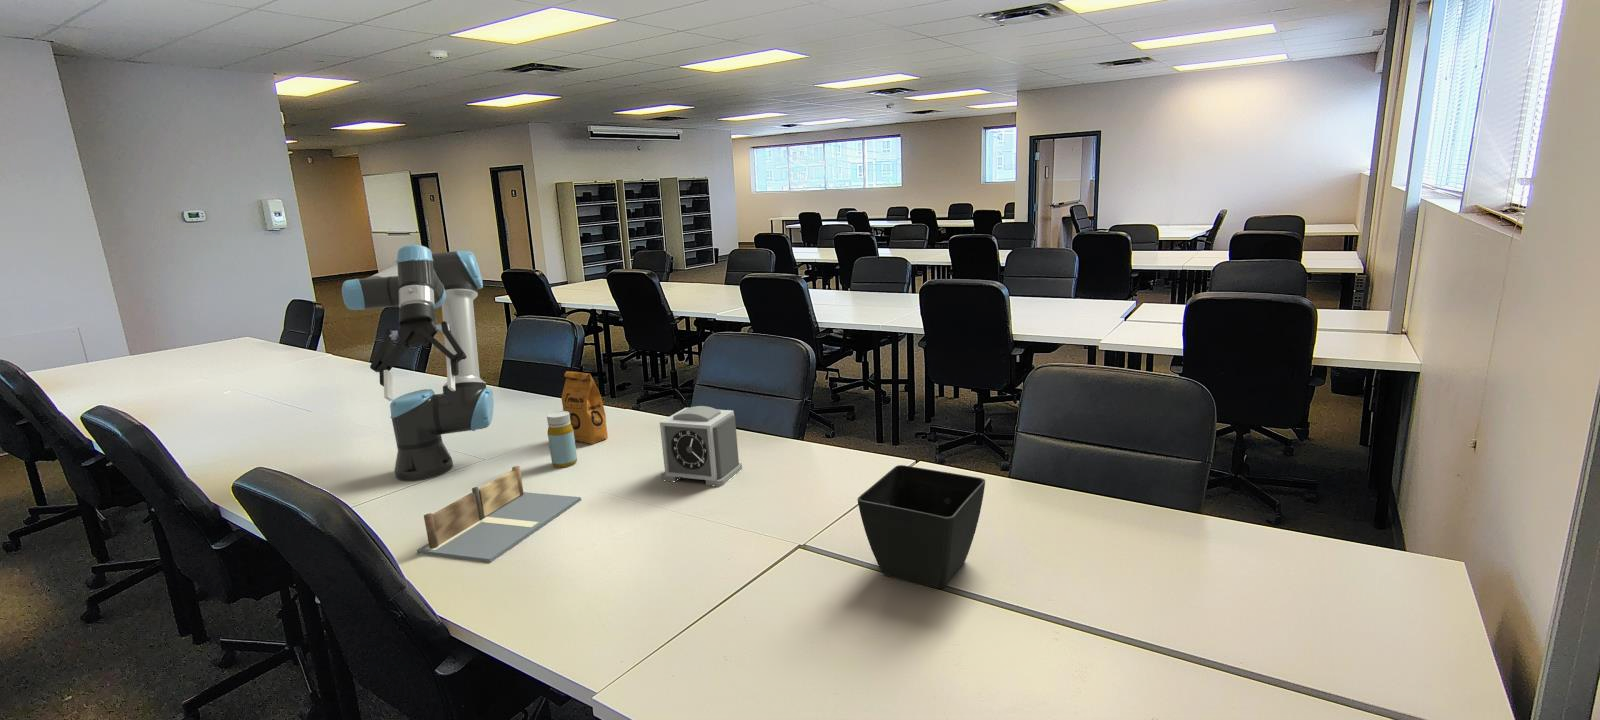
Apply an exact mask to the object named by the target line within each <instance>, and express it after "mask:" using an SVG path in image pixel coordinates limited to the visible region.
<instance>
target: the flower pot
mask: <svg viewBox="0 0 1600 720" xmlns="http://www.w3.org/2000/svg"><path fill="white" fill-rule="evenodd" d="M985 487H986V479H984V478H982V477H976V476H971V475H966V474H960V473H959V474H958V473H953V472H947V471H946V472H945V471H941V470H934V469H928V468H923V467H917V466H909V465H903V464H902V465H901V464H898V465H895V466H894V467H893V468H891V470H889V471H888V472H887V473H886V474H885V475H883V476H882V477H881V478H880V479H878V480H877V481H876V482H875V483H874V484H873V485H872V486H870V487H869V488H868V489H866V490H865V491H864V492H863V493H862V494H860V495H859V496H858V497H857V505H858V509H859V513H860V517H861V522H862V525H863V529H864V532H865V535H866V538H867V541H868V544H869V547H870V549H871V552H872V554H873V556H874V558H875V560H876V562H877V565H878V567H879V569H880V571H881V573H882V574H883V576H886V577H887V576H888V577H891V578H893V579H898V580H902V581H906V582H911V583H914V584H918V585H922V586H926V587H929V588H934V589H938V590H940V589H945V587H946V586H947V585H948V583H950V581H951V580H952V578H953V577H954V576H955V575H956V574H957V572H958V571H959V569H961V567H962V566H963V565H964V563H965V562H966V560H967V557H968V555H969V552H970V550H971V546H972V543H973V540H974V537H975V533H976V532H977V531H976V530H977V527H978V523H979V519H980V515H981V509H982V505H983V500H984V499H983V498H984V493H985Z"/></svg>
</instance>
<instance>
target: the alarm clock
mask: <svg viewBox="0 0 1600 720" xmlns="http://www.w3.org/2000/svg"><path fill="white" fill-rule="evenodd" d="M736 423H737V422H736V415H735V412H734V410H733V409H732V410H731V409H727V410H726V409H717V408H714V407H711V406H706V405H705V406H704V405H697V406H689V407H684V408H683V409H680V410H678V411H677V412H675V413H674V414H672V415H670V416H668V417H666V418H665V419H663V420H662V421H659V428H660V438H661V439H660V440H661V447H662V448H661V449H662V456H663V465H664V466H663V467H664V472H662V473H661V478H662V481H663V480H665V481H664V482H668V481H676V480H677V479H679V478H680V477H682V479H683V478H684V479H691V480H692V479H693V480H702V481H703V480H704V481H705V486H706V485H714V486H713V487H715V486H721V485H724V484H725V483H726V482H727V481H728V480H729V479H730V478H732V477H733V476H734V475H735V474H737V473H738V472H739V471H740V470H741V469H742V470H743V463H741V462H740V461H739V460H740V459H739V448H738V437H737V436H738V435H737V425H736ZM739 473H740V472H739ZM739 473H738V474H739ZM738 474H737V475H738ZM733 478H734V477H733ZM733 478H732V479H733ZM680 479H681V478H680ZM680 479H679V480H680ZM677 481H678V480H677ZM677 481H676V482H677ZM728 482H729V481H728ZM728 482H727V483H728ZM727 483H726V484H727ZM726 484H725V485H726ZM725 485H724V486H725ZM721 487H722V486H721Z"/></svg>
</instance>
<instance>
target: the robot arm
mask: <svg viewBox="0 0 1600 720" xmlns="http://www.w3.org/2000/svg"><path fill="white" fill-rule="evenodd" d="M482 277H483V276H482V274H481V271H480V267H479V263H478V261H477V258H476V256H475V254H474V253H473V252H472V251H469V250H455V251H454V250H453V251H445V252H432V250H431V249H429V248H428V247H427V246H424V245H420V244H408V245H407V244H406V245H404V246H402V247H400V248H398V251H397V257H396V260H395V261H393V262H391V263H389V264H388V265H386V266H385V267H384V268H383V270H382V271H379V272H378V273H375V274H373V275H371V276H367V277H365V278H355V279H347V280H345V281H344V282H343V283H342V287H341V295H342V296H341V297H342V299H343V304H344V305H345V307H346V308H347V309H348V310H351V311H358V310H359V311H360V310H362V311H364V310H374V309H382V308H384V309H385V308H390V307H391V308H392V307H394V308H395V307H399V309H398V323H399V328H398V330H390V329H385V330H384V334H383V340H382V342H381V344H380V345H379V347H378V350H377V352H376V354H375V356H374V357H373V359H372V361H371V364H370V366H369V368H370V369H371V370H372V371H374V372H375V373H379V384H380V386H382V387H383V396H384V397H383V398H384V399H386V400H387V401H389V402H390V404H389V408H390V409H389V410H390V418H391V422H392V423H391V424H392V428H393V432H394V438H395V443H396V448H397V454H396V460H395V464H394V474H395V479H397V480H399V481H404V482H405V481H407V482H408V481H409V482H410V481H419V480H425V479H430V478H434V477H437V476H440V475H442V474H445V473H447V472H448V471H450V470H452V469H453V467H454V462H453V458H452V456H451V454H450V453H449V450H448V449H447V447H446V445H445V443H444V442H443V437H442V435H445V434H446V435H447V434H455V433H461V432H469V431H472V432H475V431H476V430H477V431H478V430H483V429H486V428H488V427H489V426H490V425H491V424H492V421H493V415H494V394H493V390H492V389H491V388H489V387H487V383H486V382H485V381H484V380H483V379H482V378H481V375H480V366H479V353H478V343H477V342H478V341H477V333H476V332H477V331H476V321H475V319H476V318H475V311H474V310H475V309H474V300H475V299H477V297H478V296H479V292H478V290H481V289H483V288H484V286H483V283H484V282H483V278H482ZM440 307H441V312H442V314H441V315H442V322H441V323H439V324H436V309H439V308H440ZM438 331H439V333H441V334H443V336H444V337H443V338H444V339H443V340H444V344H442V343H441V342H440V341H438V340H437V339H436V338H435V336H436V334H437V333H438ZM398 337H399V338H400V339H398V341H397V342H396V345H395V346H394V343H395V341H396V340H397V338H398ZM430 343H431V344H432V345H433V346H434V347H435V348H436V349H437V350H439V351H440V352H441V353H442V354H443V355H444V356H445V361H446V382H445V383H444V385H443V386H442V393H436V394H435V391H434V390H433V389H432V388H431V389H430V388H428V389H426V388H425V389H419V390H415V391H412V392H408V393H404V394H402V395H400V396H398V397H395V398H394V396H393V395H394V390H393V389H394V387H393V386H394V384H393V373H392V372H391V370H392V368H393V367H394V366H395V365H396V363H397V362H398V361H399V360H400V358H401V357H402V356H403V355H404V353H405V352H407V351H408V350H409V349H410V348H417V347H425V346H426V347H427V346H428V345H429V344H430ZM393 346H394V348H393V349H392V347H393ZM391 349H392V351H391Z"/></svg>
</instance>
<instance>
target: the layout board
mask: <svg viewBox="0 0 1600 720" xmlns="http://www.w3.org/2000/svg"><path fill="white" fill-rule="evenodd" d="M523 493H524V494H523V495H520V496H518V497H517V498H515V499H513V500H512V501H510V502H508V503H507V504H505V505H504V506H502V507H500V508H499V509H497V510H495V511H494V512H492V513H490V514H489V515H487V516H485V517H483V519H482V520H480V521H478V522H477V523H475V524H473V525H472V526H470V527H468V528H467V529H465V530H463V531H462V532H460V533H459V534H457V535H455V536H454V537H452V538H450V539H449V540H447V541H445V542H444V543H442V544H440V545H439V546H438V547H437V548H433V549H430V547H429V542H428V543H426V544H424V545H422V546H421V547H418V548H417V549H416V554H418V555H419V554H420V555H421V554H422V555H426V556H427V555H428V556H436V557H444V558H451V559H457V560H458V559H460V560H467V561H475V562H482V563H483V562H484V563H490V564H491V563H492V562H494V561H495V560H497V559H498V558H499V556H500V557H502V556H503V555H504V554H505V553H507V552H508V551H510V550H511V549H512V548H514V547H516V546H517V545H518V544H520V543H521V542H522V541H525V540H526V539H527V538H528V537H530V536H531V535H533V534H534V533H536V532H537V531H538V530H540V529H542V528H543V527H545V526H546V525H547V524H549V523H550V522H552V521H554V520H555V519H556V518H558V517H559V516H560V515H562V514H563V513H565V512H566V511H568V510H569V509H571V508H572V507H574V506H575V505H576V504H578V503H580V502H581V501H582V497H580V496H571V495H559V494H550V493H536V492H524V491H523ZM567 509H568V510H567ZM496 558H497V559H496Z"/></svg>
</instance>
